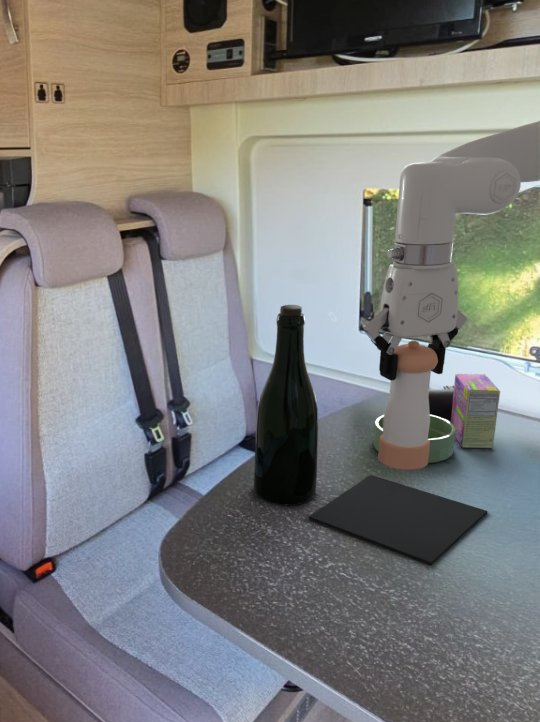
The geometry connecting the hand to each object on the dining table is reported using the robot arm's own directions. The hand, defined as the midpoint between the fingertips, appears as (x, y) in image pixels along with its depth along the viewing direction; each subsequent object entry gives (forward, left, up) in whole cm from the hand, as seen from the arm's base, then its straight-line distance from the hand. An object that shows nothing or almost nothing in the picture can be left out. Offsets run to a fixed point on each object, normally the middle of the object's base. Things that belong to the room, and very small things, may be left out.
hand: (411, 373), depth 107 cm
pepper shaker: (0, 0, -14) cm, 14 cm away
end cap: (+13, -44, -24) cm, 52 cm away
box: (+4, -38, -24) cm, 45 cm away
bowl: (+10, -26, -24) cm, 37 cm away
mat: (0, 0, -24) cm, 24 cm away
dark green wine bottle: (+18, +5, -24) cm, 31 cm away
